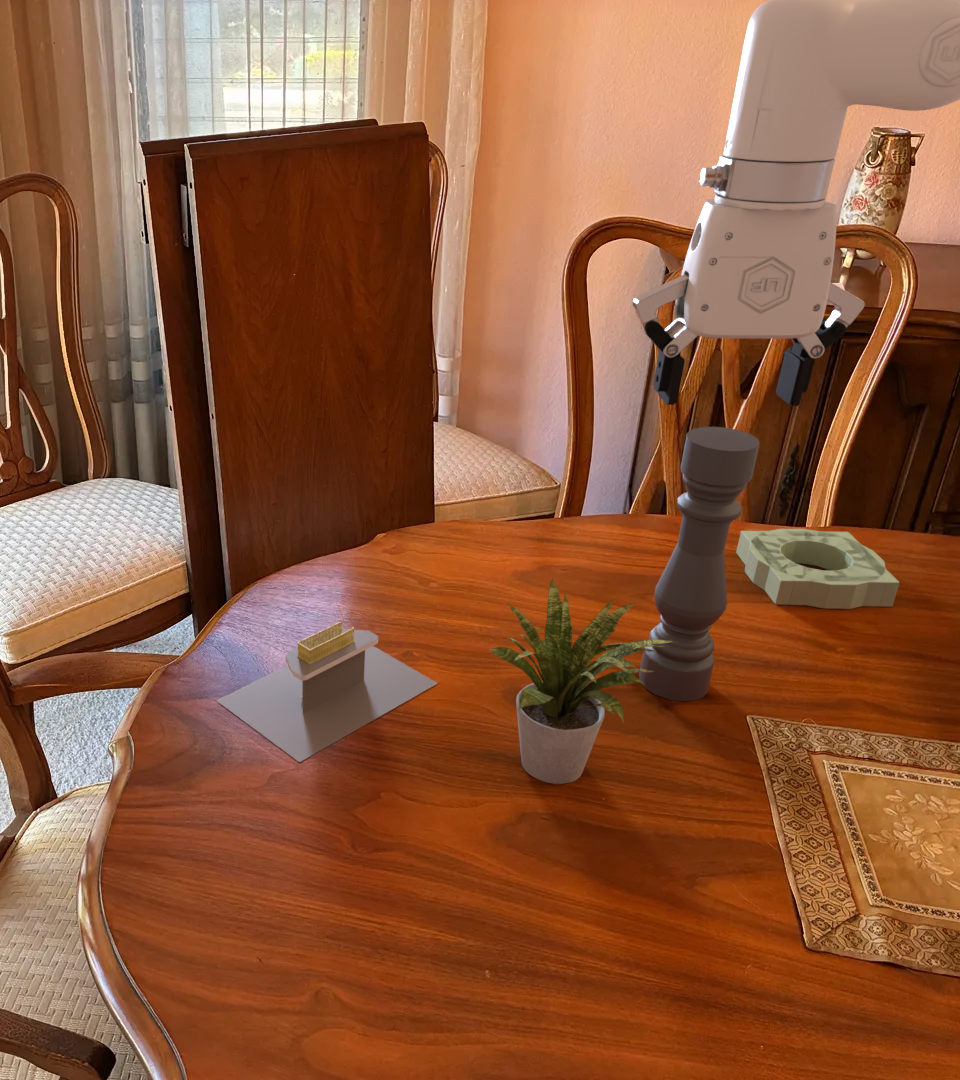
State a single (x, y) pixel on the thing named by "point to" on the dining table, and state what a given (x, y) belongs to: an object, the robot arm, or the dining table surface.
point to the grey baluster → (698, 562)
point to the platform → (325, 691)
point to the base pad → (788, 583)
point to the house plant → (568, 688)
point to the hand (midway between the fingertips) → (726, 400)
